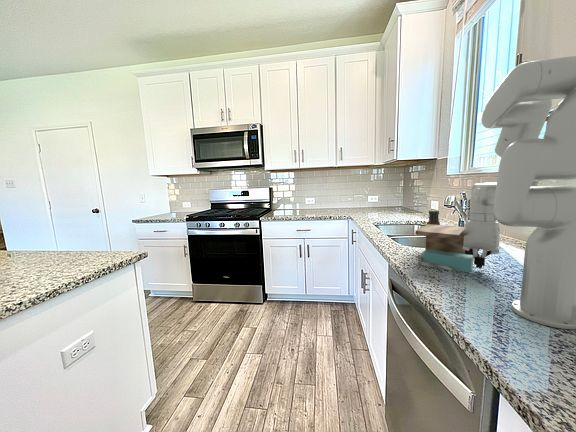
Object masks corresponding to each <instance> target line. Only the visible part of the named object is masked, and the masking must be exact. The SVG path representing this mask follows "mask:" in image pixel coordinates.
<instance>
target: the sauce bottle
mask: <svg viewBox="0 0 576 432" xmlns="http://www.w3.org/2000/svg"><path fill="white" fill-rule="evenodd" d="M428 214H429V215H428V221H427V223H426V225H427V224H433V225H441V223H440V221H439V215H440V210H435V209H433V210H428ZM424 243H425V245H424V246H425V247H424V248H425V250H426V240H425V242H424Z"/></svg>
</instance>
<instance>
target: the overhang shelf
mask: <svg viewBox="0 0 576 432" xmlns="http://www.w3.org/2000/svg"><path fill="white" fill-rule="evenodd" d="M465 227H466V226H458V225H457V226H456V225H447V224H445V225H444V224H440V225H433V224H427V223H426V224H425V225H424V226H421V227H420V228H417V229H416V230H415V233H414V234H415V236H416V235H417V236H424V237H425V241H426V249H431V250H438V251H445V252H452V253H460V254H465V250H464V249H463V245H464V244H463V241H464V233H465ZM426 249H425V250H426ZM418 265H419V266H423V267H424V266H426V267H429V268H436V269H441V270H447V271H453V269H452V268H453V267H450V266H444V265H439V264H433V263H427V262H423V253H422V254H421V255H420V256H418Z"/></svg>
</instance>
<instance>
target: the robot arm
mask: <svg viewBox="0 0 576 432" xmlns="http://www.w3.org/2000/svg"><path fill="white" fill-rule="evenodd" d="M557 99H560V100H561V99H562V100H561V101H560V102H559V103H558V104H557V105H556V106H555V108H554V109H553V110H551V108H552V106H553V105H552V103H553V101H552V100H557ZM550 111H551V112H550ZM480 119H481V120H480V121H481V125H482V126H483V127H484V128H485V129H501V130H500V133H499V137H498V140H497V142H496V144H495V148H494V152H495V154H496V155H497V156H498V157H500V161H499V163H498V173H497V178H496V182H482V183H481V182H479V183H474V184H472V186H471V189H470V190H471V191H470V203H469V204H470V205H469V207H470V208H469V220H466V225H465V226H464V227H465V233H464V241H463V244H464V245H463V249H464V250H467V251H470V252H471V253H472V254H473V256H474V257H473V266H475V269H482V268H483V267H485V264H486V263H485V262H486V258H487V257H488V256H490V255H497V254H500V248H499V247H500V224H501V225H503V226H507V227H515V228H517V227H520V228H521V227H522V228H523V227H524V228H535V229H534V230H533V231H532V233H530V235H529V236H528V237H527V240H526V243H525V248H524V256H523V257H524V259H523V269H522V270H523V271H522V277H521V290H520V299H515V300H514V301H512V302H511V309H512V311H513V312H514V313H515V314H517V315H518V316H521V317H522V318H525V319H526V320H529V321H531V322H534V323H537V324H540V325H543V326H547V327H552V328H556V329H557V328H558V329H563V330H576V186H572V185H547V186H546V185H542V186H538V185H539V183H540V182H541V181H547V182H548V181H569V180H570V181H571V180H576V55H572V56H564V57H556V58H548V59H547V58H546V59H539V60H533V61H527V62H522V63H520V64H518V65H516V66H515V67H514V68H512V69H511V70H510V71H509V72H508V73H507V74H506V76H505V77H504V78H503V80H502V81H501V82H500V83H499V85H498V86H497V87H496V88H495V90H494V91H493V93H492V94H491V95H490V96H489V98H488V100H487V101H486V103H485V104H484V107H483V110H482V113H481V118H480ZM545 123H546V125H545ZM544 126H545V132H544V135H543V137H539V136H540V135H541V132H542V130H543V127H544ZM478 249H479V250H482V253H481V254H479V251H478Z"/></svg>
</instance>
